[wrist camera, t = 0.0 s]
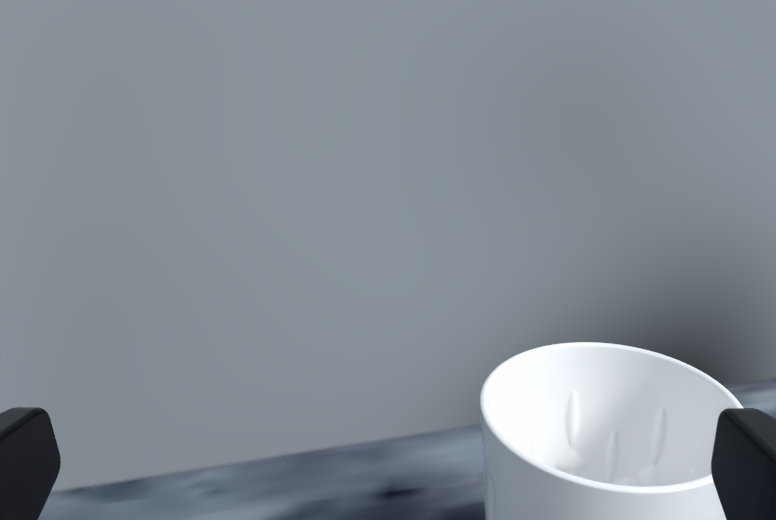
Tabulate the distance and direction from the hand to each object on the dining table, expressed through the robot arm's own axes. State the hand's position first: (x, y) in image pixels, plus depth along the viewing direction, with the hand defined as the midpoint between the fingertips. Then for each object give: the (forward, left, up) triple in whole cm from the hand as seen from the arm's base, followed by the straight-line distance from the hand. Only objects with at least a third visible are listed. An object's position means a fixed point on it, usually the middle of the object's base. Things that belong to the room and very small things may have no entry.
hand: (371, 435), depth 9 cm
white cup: (+11, -6, -17) cm, 21 cm away
